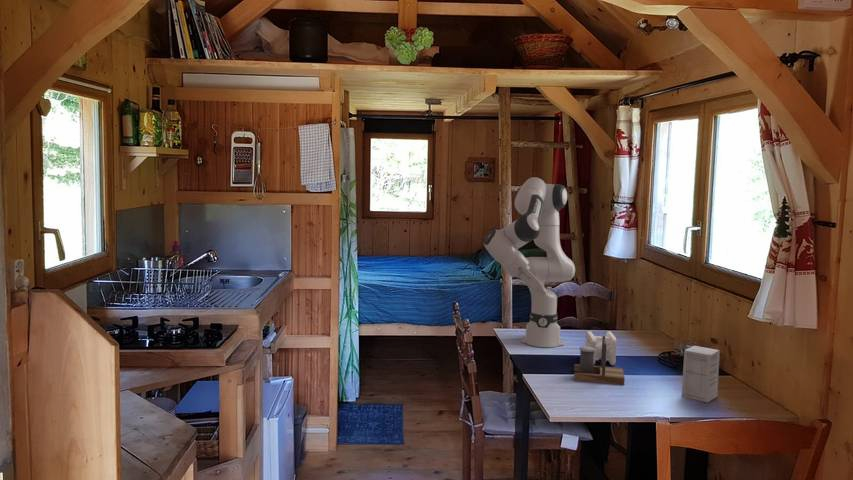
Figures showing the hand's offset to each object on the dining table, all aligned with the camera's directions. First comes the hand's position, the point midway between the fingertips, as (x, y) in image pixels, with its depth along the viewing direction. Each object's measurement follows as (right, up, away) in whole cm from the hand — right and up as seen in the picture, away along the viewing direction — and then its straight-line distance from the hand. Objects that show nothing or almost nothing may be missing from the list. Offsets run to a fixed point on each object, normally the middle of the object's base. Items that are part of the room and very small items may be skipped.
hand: (542, 292), depth 261 cm
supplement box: (+52, -35, -20) cm, 66 cm away
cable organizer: (+27, -30, +20) cm, 45 cm away
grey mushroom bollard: (+17, -32, +1) cm, 36 cm away
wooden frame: (+21, -32, -1) cm, 39 cm away
